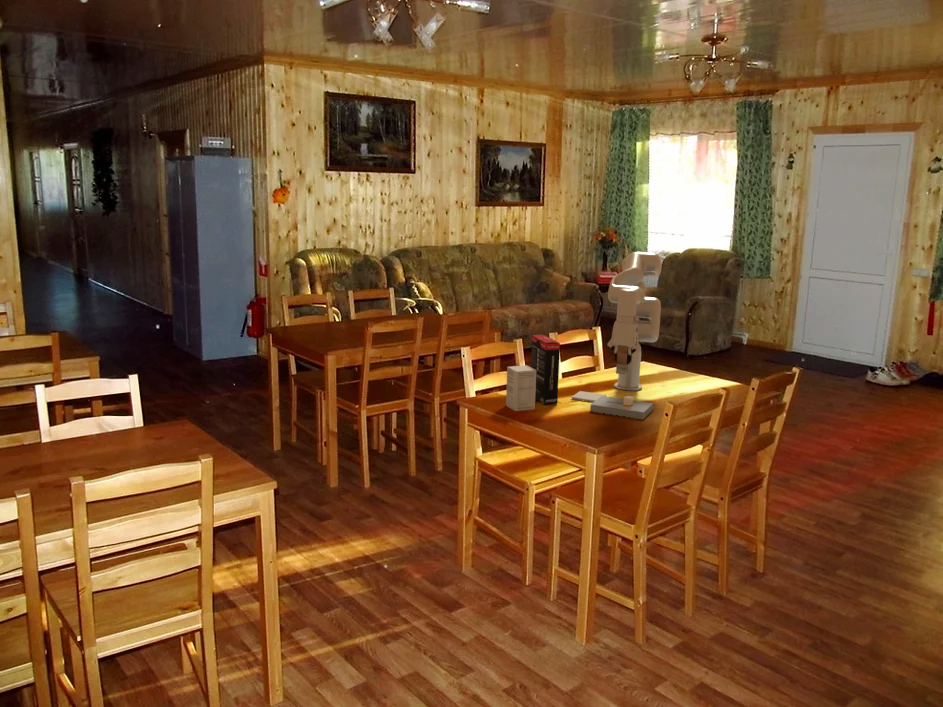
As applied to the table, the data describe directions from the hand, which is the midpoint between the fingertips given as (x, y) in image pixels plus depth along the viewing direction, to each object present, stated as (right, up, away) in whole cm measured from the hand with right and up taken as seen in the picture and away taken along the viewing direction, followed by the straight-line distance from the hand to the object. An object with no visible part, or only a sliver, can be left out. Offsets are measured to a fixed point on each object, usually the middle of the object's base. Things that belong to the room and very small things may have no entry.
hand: (622, 362), depth 329 cm
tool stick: (0, -4, +1) cm, 4 cm away
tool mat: (-11, -16, +22) cm, 29 cm away
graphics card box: (-31, -17, +16) cm, 39 cm away
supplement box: (-42, -19, +3) cm, 46 cm away
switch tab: (+2, -17, +2) cm, 17 cm away
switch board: (0, -20, +3) cm, 20 cm away
